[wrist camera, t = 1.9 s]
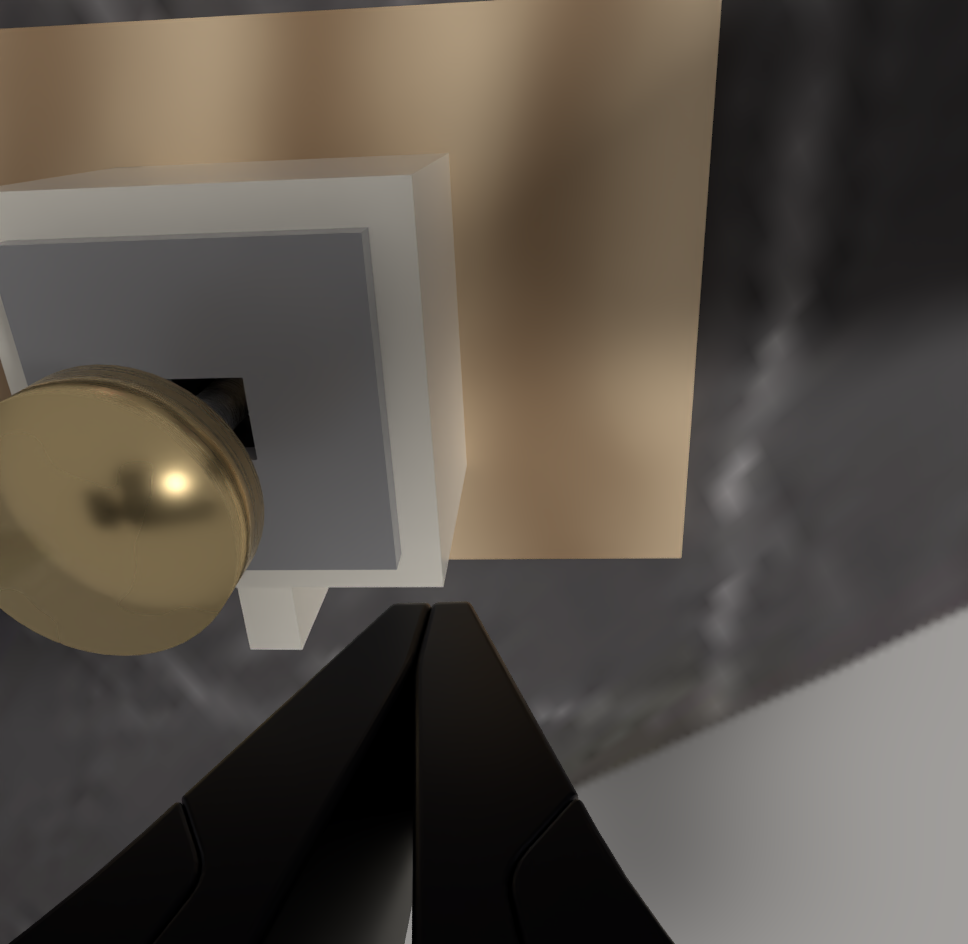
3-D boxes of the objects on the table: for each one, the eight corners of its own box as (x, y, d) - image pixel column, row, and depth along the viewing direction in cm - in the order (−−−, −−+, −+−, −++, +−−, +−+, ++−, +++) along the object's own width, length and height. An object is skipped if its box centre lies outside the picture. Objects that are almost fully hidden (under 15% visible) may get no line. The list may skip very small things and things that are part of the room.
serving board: (714, -9, 17) (722, -13, 17) (676, 543, 23) (681, 558, 23) (-140, 41, 19) (-167, 38, 18) (29, 548, 25) (14, 561, 24)
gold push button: (365, 239, 15) (252, 332, 9) (391, 488, 18) (313, 694, 12) (99, 249, 16) (-181, 344, 10) (157, 491, 18) (-38, 691, 12)
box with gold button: (448, 153, 18) (406, 177, 12) (470, 529, 23) (446, 682, 17) (117, 167, 19) (-76, 198, 13) (199, 531, 23) (81, 680, 17)
